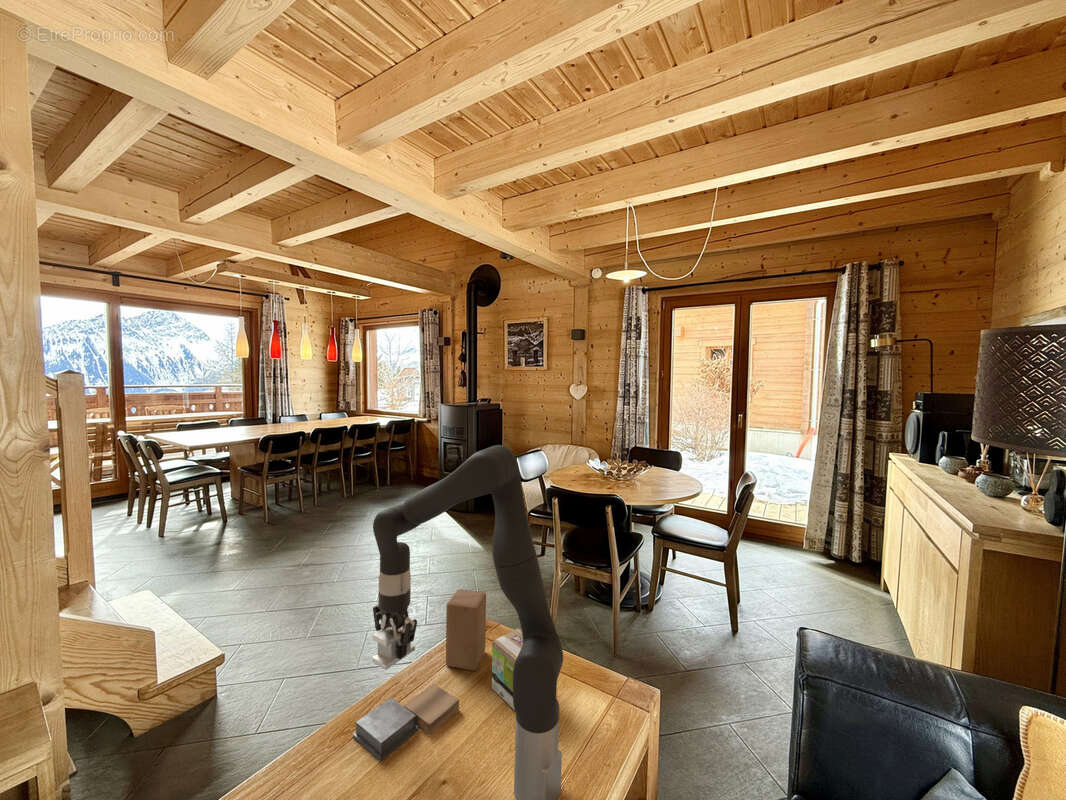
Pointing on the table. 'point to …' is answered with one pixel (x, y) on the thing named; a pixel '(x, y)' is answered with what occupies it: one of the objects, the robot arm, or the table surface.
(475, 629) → the wooden block
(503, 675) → the tea box
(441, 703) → the stand
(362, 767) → the table surface
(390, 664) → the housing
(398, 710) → the stand
